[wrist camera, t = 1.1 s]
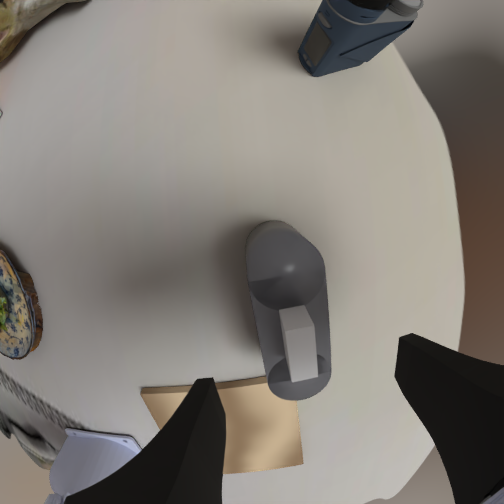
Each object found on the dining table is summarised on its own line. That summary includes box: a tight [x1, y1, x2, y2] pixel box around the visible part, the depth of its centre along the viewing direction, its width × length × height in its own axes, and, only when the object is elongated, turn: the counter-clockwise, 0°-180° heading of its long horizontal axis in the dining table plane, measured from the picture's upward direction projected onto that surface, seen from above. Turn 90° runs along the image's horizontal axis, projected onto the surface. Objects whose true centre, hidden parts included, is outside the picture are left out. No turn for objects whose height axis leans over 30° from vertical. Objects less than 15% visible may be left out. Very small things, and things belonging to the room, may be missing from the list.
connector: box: [246, 221, 331, 401], centre depth 15 cm, size 4×10×7 cm, turn 10°
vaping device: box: [298, 0, 423, 77], centre depth 8 cm, size 3×5×12 cm, turn 115°
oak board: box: [140, 376, 303, 474], centre depth 21 cm, size 12×13×1 cm
